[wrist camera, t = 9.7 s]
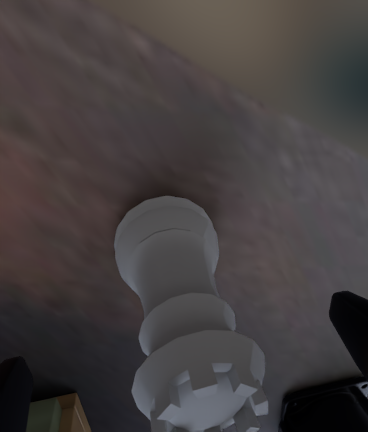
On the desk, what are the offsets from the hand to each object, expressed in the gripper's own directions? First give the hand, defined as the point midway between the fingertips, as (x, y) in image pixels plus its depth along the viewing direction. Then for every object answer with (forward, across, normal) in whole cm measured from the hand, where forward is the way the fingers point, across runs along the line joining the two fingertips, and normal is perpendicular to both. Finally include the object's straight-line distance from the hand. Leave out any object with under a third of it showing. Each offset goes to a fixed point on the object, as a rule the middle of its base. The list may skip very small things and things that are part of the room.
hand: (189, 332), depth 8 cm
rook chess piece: (+6, 0, 0) cm, 6 cm away
